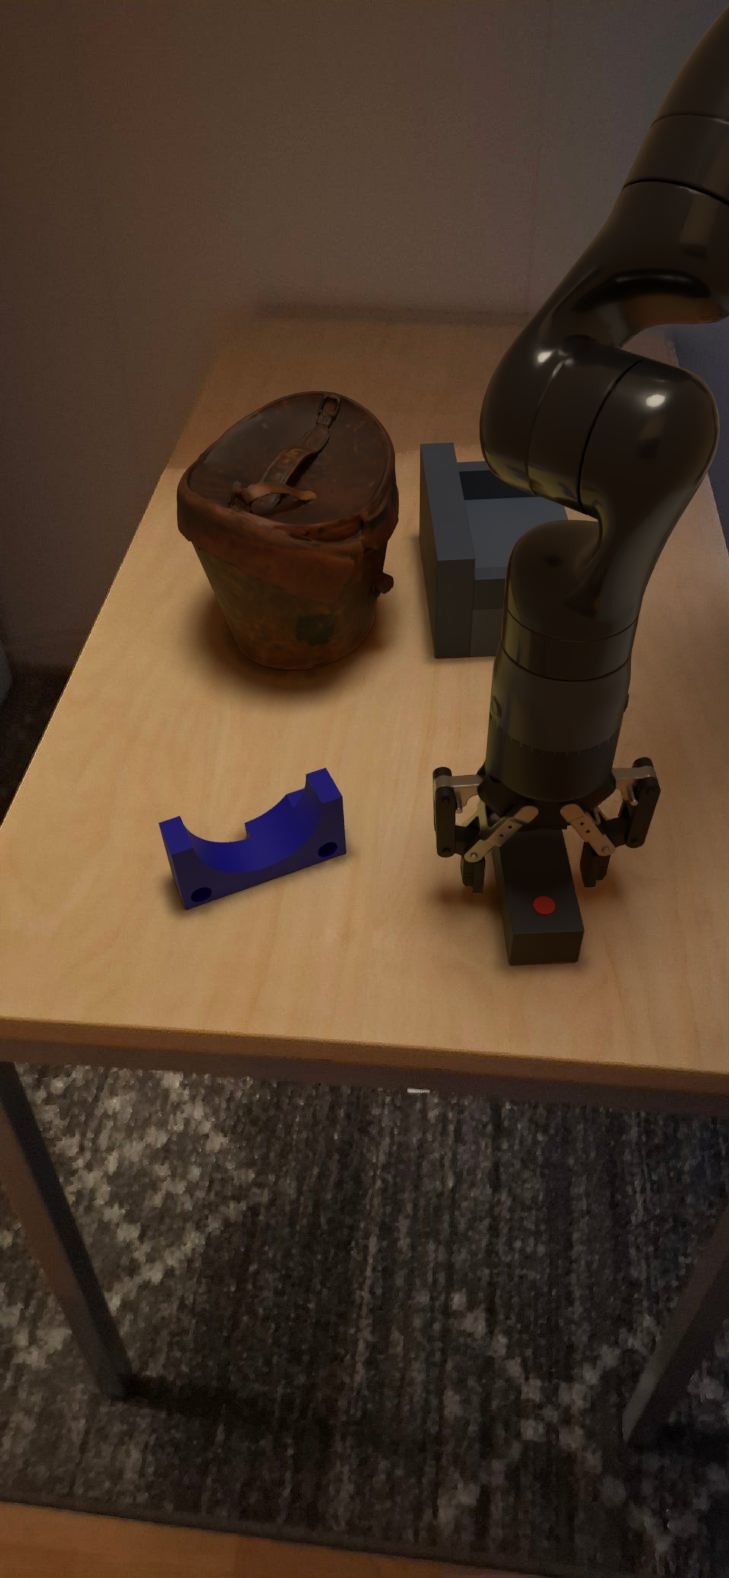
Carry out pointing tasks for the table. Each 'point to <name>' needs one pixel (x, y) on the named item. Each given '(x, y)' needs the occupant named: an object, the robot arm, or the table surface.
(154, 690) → the table surface
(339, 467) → the case
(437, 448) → the sofa
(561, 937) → the remote
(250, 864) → the blue bracket
